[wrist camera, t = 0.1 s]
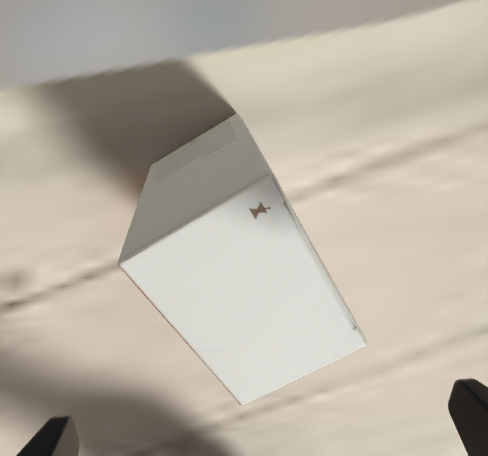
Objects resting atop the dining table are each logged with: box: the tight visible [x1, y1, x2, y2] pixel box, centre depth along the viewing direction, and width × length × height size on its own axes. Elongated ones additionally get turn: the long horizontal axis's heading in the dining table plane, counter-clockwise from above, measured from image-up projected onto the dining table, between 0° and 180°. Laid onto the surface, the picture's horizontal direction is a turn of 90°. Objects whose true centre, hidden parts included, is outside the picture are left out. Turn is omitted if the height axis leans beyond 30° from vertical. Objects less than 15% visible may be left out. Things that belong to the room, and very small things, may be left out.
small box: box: [118, 114, 367, 405], centre depth 18 cm, size 8×6×10 cm
